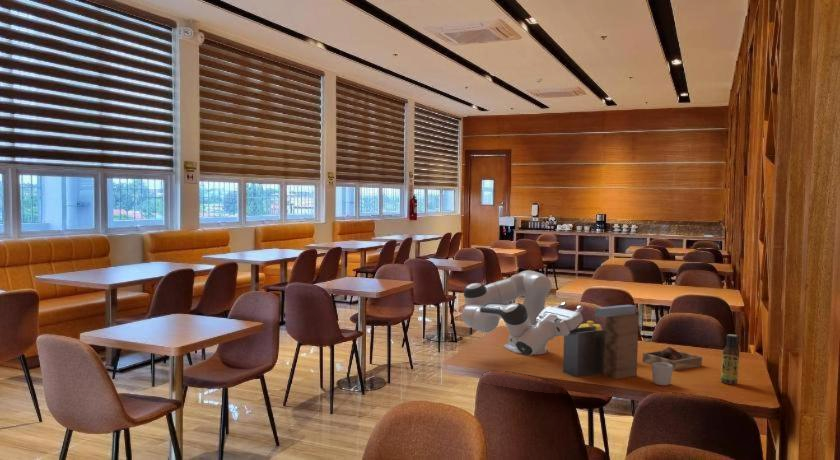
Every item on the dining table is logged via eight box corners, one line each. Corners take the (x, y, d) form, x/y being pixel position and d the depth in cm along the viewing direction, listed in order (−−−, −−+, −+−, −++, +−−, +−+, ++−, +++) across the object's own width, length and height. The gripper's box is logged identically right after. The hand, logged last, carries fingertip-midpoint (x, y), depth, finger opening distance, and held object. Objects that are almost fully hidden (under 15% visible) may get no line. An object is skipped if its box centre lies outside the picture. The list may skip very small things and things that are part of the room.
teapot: (566, 345, 328) (567, 320, 327) (587, 340, 340) (587, 316, 340) (601, 352, 313) (602, 326, 312) (621, 347, 326) (622, 322, 325)
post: (603, 375, 272) (605, 314, 270) (623, 371, 278) (625, 312, 276) (616, 379, 266) (618, 316, 264) (636, 375, 272) (638, 314, 270)
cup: (644, 379, 266) (645, 360, 266) (663, 379, 267) (664, 360, 267) (656, 387, 256) (657, 367, 255) (675, 386, 256) (676, 367, 256)
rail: (594, 316, 265) (595, 307, 265) (628, 312, 275) (629, 304, 275) (601, 317, 262) (601, 309, 262) (635, 314, 272) (635, 305, 272)
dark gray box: (563, 372, 275) (564, 329, 274) (592, 367, 284) (594, 326, 283) (577, 377, 268) (578, 333, 267) (607, 372, 277) (608, 329, 276)
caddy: (642, 361, 296) (642, 353, 296) (670, 357, 305) (670, 349, 305) (673, 370, 281) (673, 361, 281) (701, 365, 291) (702, 356, 290)
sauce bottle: (719, 383, 262) (721, 335, 261) (721, 380, 267) (723, 332, 266) (737, 386, 259) (739, 337, 258) (738, 382, 264) (740, 334, 263)
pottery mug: (659, 360, 302) (669, 345, 301) (676, 372, 296) (687, 357, 295) (651, 358, 293) (662, 343, 292) (669, 370, 287) (680, 355, 286)
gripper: (536, 327, 266) (559, 307, 272) (570, 336, 249) (593, 315, 254) (530, 314, 265) (553, 295, 270) (564, 323, 247) (587, 302, 252)
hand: (573, 305), depth 262 cm, fingers open, 8 cm apart
